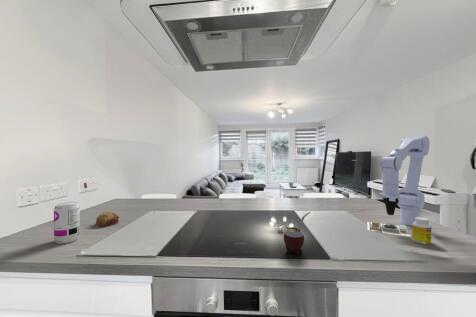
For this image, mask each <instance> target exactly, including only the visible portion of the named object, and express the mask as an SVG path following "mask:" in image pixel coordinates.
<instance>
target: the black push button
mask: <svg viewBox="0 0 476 317" xmlns="http://www.w3.org/2000/svg"><path fill="white" fill-rule="evenodd" d="M385 224H386V228H390V229H395V226H396V225H395V224H392V223H385Z"/></svg>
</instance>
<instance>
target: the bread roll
mask: <svg viewBox="0 0 476 317" xmlns="http://www.w3.org/2000/svg"><path fill="white" fill-rule="evenodd" d="M119 218H120V217H119V215H117V214H116V213H115V212H112V211H103V212H102V213H99V215H97V217H96V219H95V220H96V221H95V224H94V226H96V227H98V228H105V227H109V226H110V227H111V226H114V225H117V224H118V223H119Z"/></svg>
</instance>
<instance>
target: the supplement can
mask: <svg viewBox="0 0 476 317" xmlns="http://www.w3.org/2000/svg"><path fill="white" fill-rule="evenodd" d="M80 213H81V211H80V204H79V203H78V202H77V201H67V202H61V203H56V204H55V206H54V208H53V242H54V243H56V245H57V244H58V245H63V244H70V243H72V242H75V241H77V240H78V239H79V238H80V237H81V226H80V225H81V222H80V221H81V220H80V219H81V215H80Z"/></svg>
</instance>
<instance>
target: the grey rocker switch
mask: <svg viewBox="0 0 476 317" xmlns="http://www.w3.org/2000/svg"><path fill="white" fill-rule="evenodd" d="M398 226H399V229H400V231H404V232H407V230H408V228H407V225H405V224H402V223H399V224H398Z"/></svg>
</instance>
